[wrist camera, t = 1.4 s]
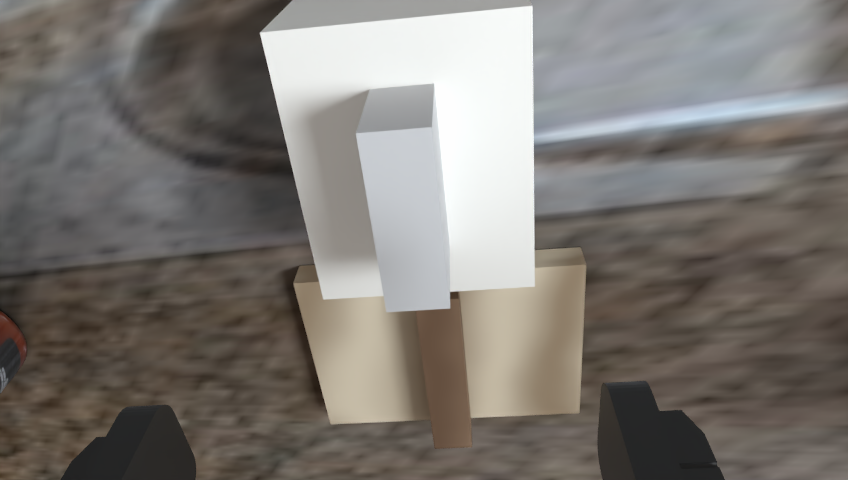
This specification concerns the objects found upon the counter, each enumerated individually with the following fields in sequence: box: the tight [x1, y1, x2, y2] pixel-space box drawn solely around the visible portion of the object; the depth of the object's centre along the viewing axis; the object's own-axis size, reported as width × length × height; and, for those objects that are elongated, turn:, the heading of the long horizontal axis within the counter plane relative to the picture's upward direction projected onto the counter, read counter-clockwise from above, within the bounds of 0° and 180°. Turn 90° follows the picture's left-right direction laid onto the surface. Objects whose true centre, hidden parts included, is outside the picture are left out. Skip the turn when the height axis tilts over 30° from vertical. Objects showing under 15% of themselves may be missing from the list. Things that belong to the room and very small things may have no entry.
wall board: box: [293, 247, 586, 449], centre depth 32 cm, size 14×10×4 cm
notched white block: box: [260, 0, 535, 312], centre depth 22 cm, size 8×10×10 cm
